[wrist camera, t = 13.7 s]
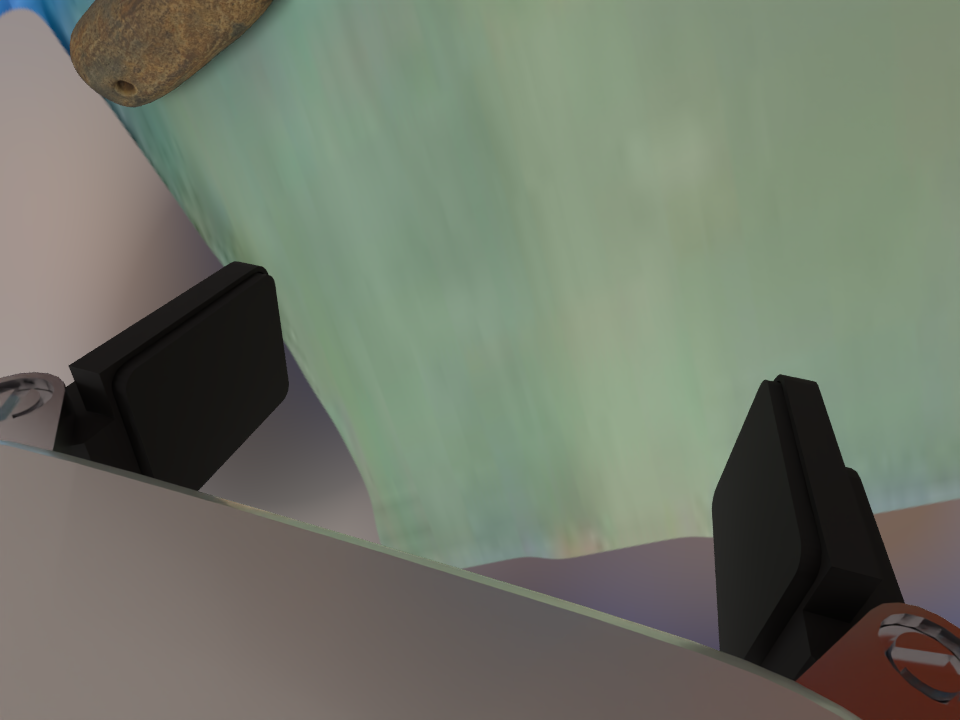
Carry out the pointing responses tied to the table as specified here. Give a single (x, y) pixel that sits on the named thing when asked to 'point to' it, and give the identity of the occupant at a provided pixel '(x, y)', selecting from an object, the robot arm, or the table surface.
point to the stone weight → (154, 43)
